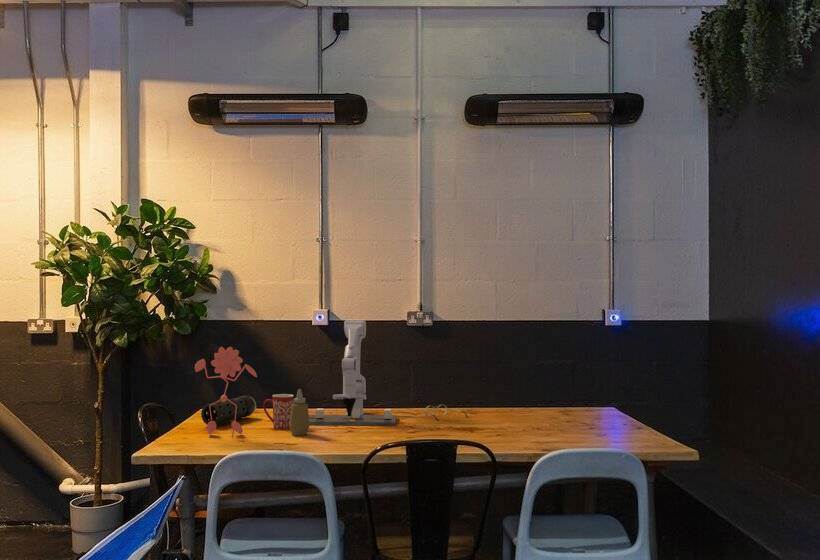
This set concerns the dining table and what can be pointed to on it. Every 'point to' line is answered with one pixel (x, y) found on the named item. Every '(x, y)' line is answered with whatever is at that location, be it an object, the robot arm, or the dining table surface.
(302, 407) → the squeeze bottle
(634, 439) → the dining table surface
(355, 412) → the block
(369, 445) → the dining table surface
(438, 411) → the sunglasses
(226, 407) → the muzzle brake
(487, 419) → the dining table surface
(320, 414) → the beige block
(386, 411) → the block
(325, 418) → the breaker panel
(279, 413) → the mug
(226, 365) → the figurine
